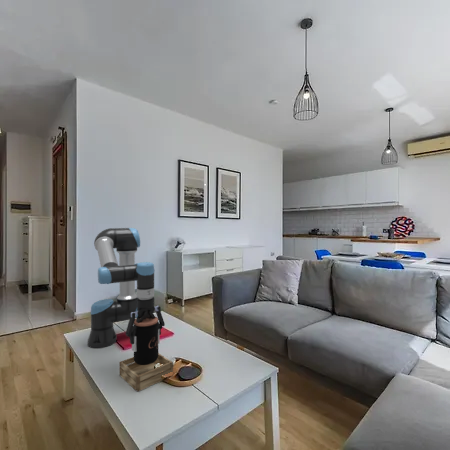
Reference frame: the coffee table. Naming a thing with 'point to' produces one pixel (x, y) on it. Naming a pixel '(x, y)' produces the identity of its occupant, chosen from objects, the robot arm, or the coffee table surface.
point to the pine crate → (144, 372)
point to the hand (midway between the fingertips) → (146, 346)
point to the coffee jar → (146, 341)
